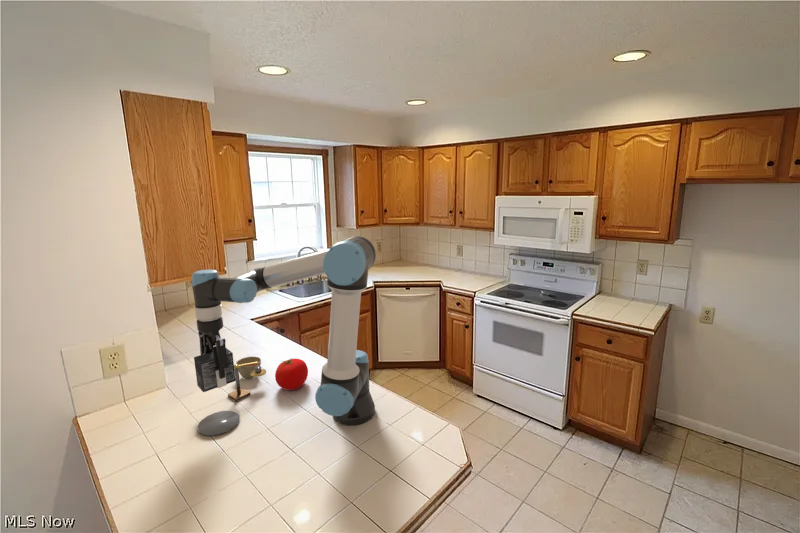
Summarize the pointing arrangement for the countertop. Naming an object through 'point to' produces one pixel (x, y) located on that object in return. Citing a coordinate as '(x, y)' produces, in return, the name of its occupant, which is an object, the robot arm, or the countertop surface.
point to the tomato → (291, 374)
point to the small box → (212, 370)
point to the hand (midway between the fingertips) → (216, 382)
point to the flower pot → (248, 369)
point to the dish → (218, 423)
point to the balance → (240, 392)
